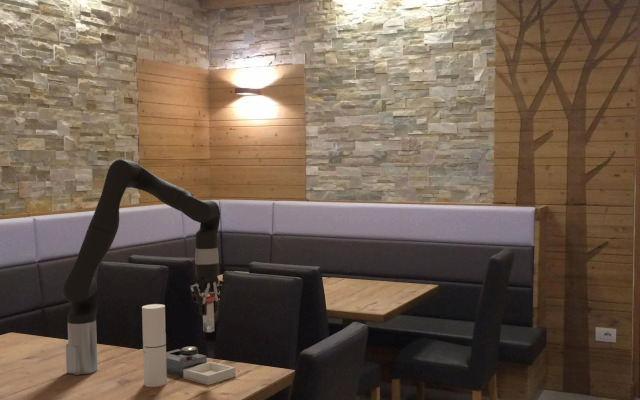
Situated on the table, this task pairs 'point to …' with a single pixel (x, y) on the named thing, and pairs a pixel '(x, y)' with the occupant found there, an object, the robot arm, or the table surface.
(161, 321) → the cylindrical container
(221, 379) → the dish
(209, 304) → the pin
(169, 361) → the dark grey block
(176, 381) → the table surface
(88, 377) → the table surface
